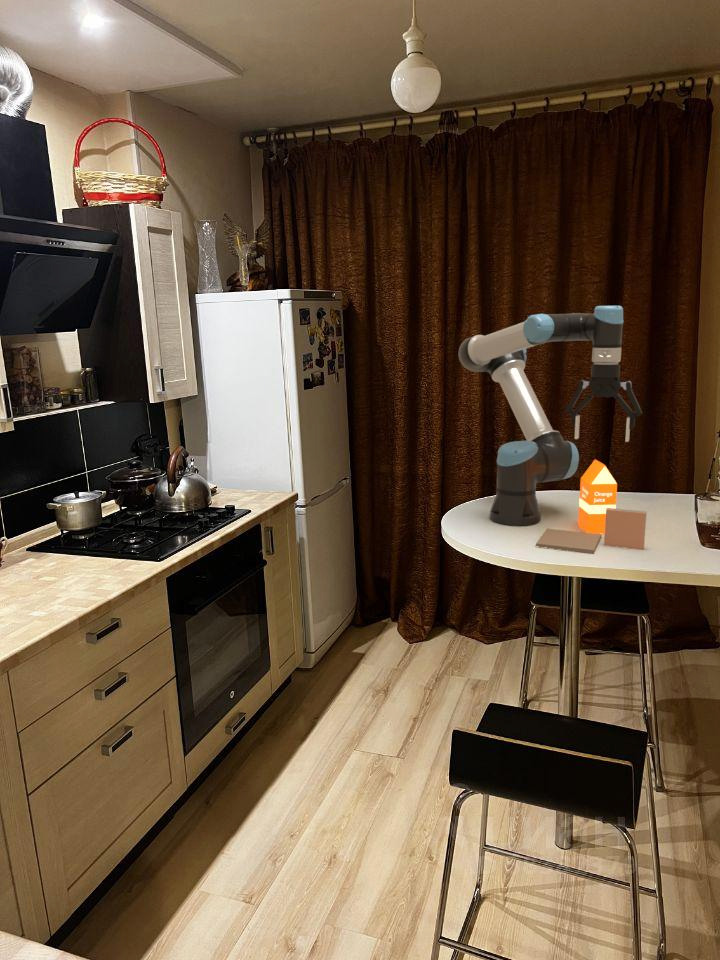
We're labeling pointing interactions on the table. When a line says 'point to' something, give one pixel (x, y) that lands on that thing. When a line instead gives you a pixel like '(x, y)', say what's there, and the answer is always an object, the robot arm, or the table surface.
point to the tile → (625, 528)
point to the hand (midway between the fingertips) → (601, 439)
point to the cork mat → (569, 540)
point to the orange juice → (596, 497)
